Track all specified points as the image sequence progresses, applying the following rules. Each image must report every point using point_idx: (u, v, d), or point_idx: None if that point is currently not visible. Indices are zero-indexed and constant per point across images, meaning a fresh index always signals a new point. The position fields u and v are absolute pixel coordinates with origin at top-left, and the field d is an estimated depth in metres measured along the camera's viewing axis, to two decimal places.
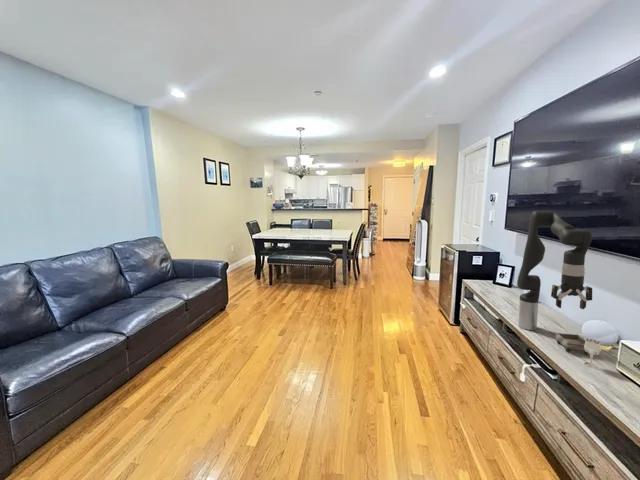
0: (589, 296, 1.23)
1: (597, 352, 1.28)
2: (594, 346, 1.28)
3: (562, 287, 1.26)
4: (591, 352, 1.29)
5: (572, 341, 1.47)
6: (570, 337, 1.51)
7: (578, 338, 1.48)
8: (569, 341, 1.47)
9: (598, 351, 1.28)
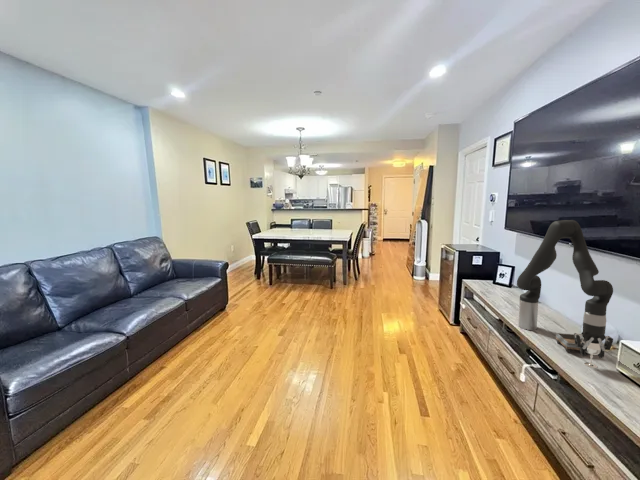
0: (608, 346, 1.28)
1: (597, 352, 1.28)
2: (594, 346, 1.28)
3: (584, 335, 1.30)
4: (591, 352, 1.29)
5: (572, 341, 1.47)
6: (570, 337, 1.51)
7: None
8: (569, 341, 1.47)
9: (598, 351, 1.28)
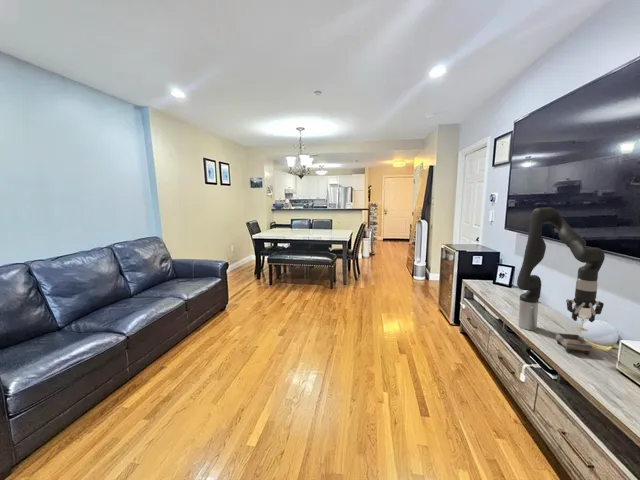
0: (598, 310, 1.34)
1: (588, 316, 1.34)
2: (585, 310, 1.34)
3: (576, 300, 1.36)
4: (582, 316, 1.35)
5: (572, 341, 1.47)
6: (570, 337, 1.51)
7: (578, 338, 1.48)
8: (569, 341, 1.47)
9: (589, 315, 1.34)
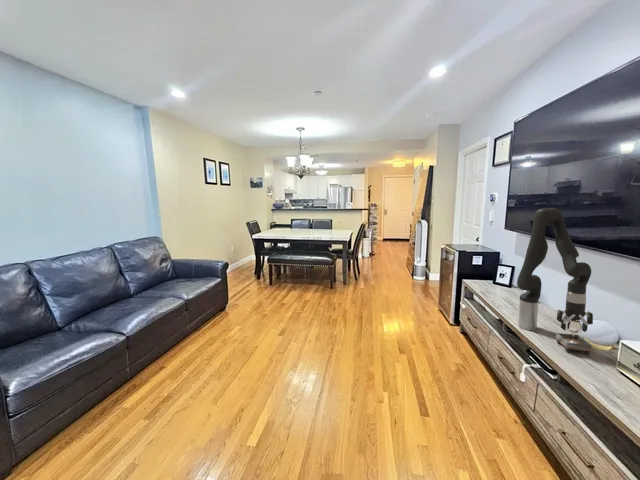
0: (590, 320, 1.42)
1: (578, 330, 1.43)
2: (575, 324, 1.43)
3: (566, 312, 1.45)
4: (572, 330, 1.44)
5: None
6: (570, 337, 1.51)
7: (578, 338, 1.48)
8: None
9: (578, 329, 1.42)
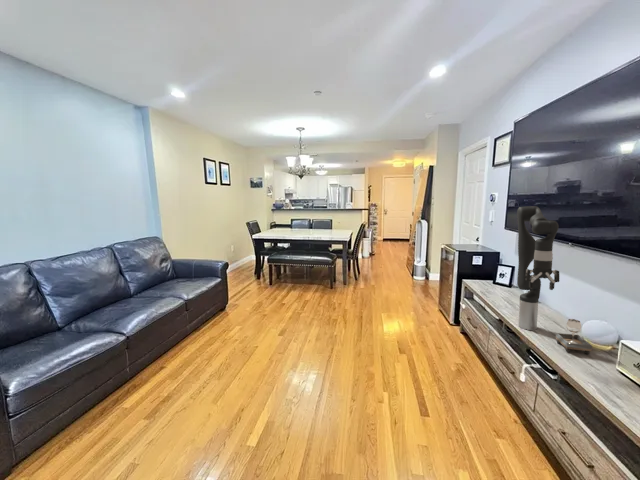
0: (557, 278, 1.42)
1: (578, 330, 1.43)
2: (575, 324, 1.43)
3: (534, 271, 1.45)
4: (572, 330, 1.44)
5: None
6: (570, 337, 1.51)
7: (578, 338, 1.48)
8: None
9: (578, 329, 1.42)
